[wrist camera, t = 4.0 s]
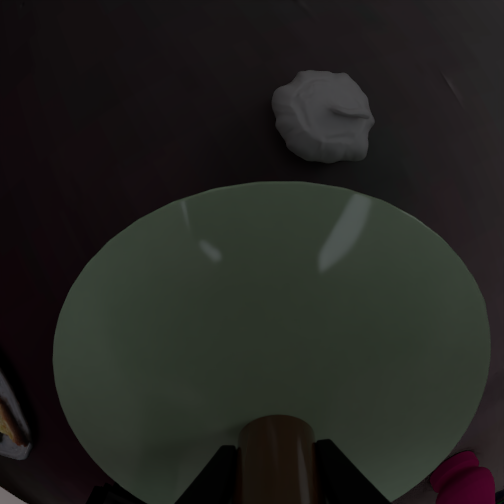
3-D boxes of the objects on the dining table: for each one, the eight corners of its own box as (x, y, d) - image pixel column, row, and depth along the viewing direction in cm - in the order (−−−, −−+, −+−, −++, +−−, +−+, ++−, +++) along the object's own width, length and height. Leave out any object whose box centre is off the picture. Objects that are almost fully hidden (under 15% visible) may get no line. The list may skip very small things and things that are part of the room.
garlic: (378, 118, 18) (412, 101, 13) (335, 186, 19) (359, 189, 14) (299, 65, 17) (309, 30, 12) (252, 132, 18) (248, 115, 13)
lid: (135, 508, 12) (109, 586, 6) (26, 214, 8) (-111, 251, 3) (425, 490, 11) (455, 567, 5) (494, 177, 8) (634, 193, 2)
